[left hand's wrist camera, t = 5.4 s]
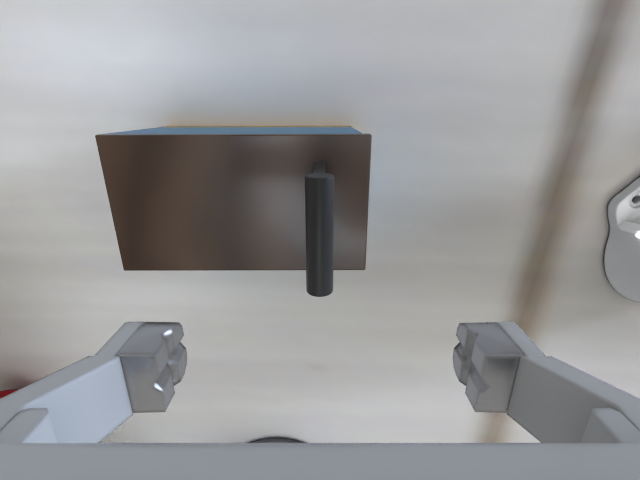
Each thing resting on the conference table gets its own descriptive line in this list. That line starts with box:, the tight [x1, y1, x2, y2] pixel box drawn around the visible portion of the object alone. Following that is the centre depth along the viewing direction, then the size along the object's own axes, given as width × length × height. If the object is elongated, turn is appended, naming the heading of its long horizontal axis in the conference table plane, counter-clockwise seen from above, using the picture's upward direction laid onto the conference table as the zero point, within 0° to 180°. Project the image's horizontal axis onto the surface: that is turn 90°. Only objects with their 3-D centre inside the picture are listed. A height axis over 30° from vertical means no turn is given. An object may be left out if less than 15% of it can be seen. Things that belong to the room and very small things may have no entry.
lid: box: [95, 134, 371, 297], centre depth 22 cm, size 18×10×8 cm, turn 90°
